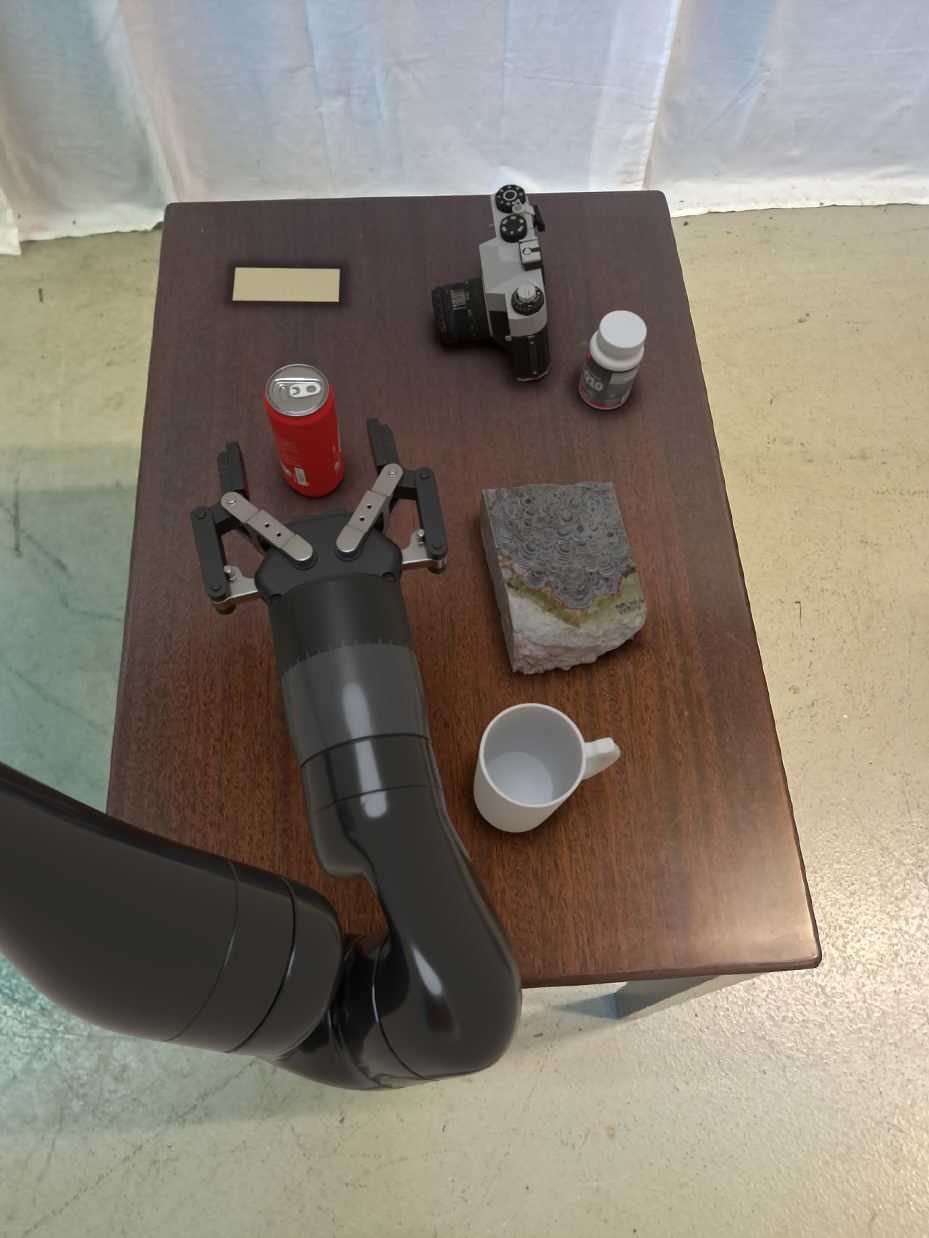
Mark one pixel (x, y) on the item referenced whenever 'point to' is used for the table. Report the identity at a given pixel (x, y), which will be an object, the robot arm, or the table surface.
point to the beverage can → (305, 429)
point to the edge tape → (286, 285)
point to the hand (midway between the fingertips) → (303, 437)
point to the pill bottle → (613, 360)
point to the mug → (533, 765)
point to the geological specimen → (560, 573)
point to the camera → (503, 289)
